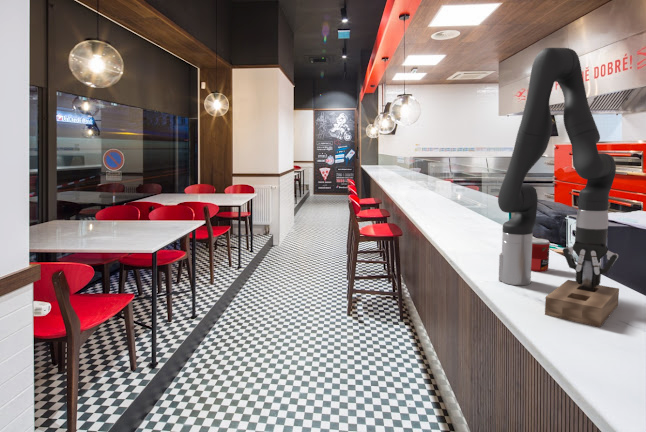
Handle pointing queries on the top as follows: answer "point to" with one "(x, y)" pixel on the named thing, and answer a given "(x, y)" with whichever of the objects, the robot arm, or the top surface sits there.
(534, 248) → the canned food
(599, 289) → the hole block
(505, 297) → the top surface
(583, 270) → the pin
